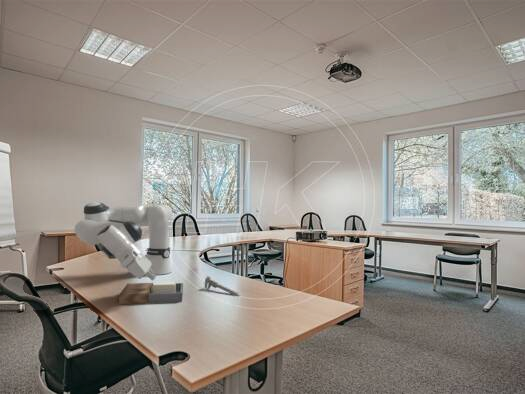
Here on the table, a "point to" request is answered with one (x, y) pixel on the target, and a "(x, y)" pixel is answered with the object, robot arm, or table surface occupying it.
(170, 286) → the block
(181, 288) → the bin
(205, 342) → the table surface
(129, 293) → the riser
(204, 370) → the table surface
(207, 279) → the caliper
